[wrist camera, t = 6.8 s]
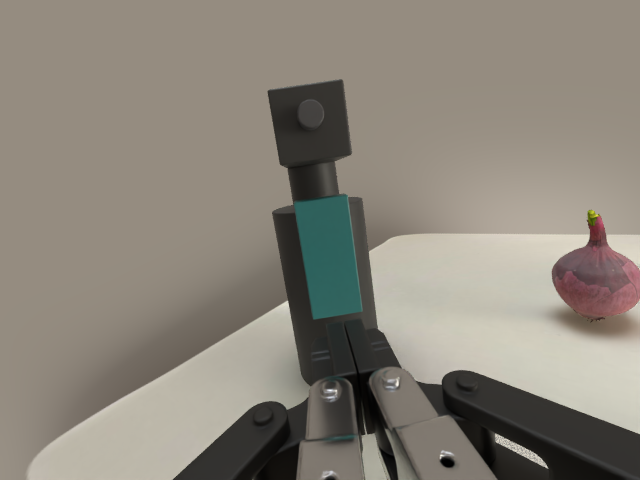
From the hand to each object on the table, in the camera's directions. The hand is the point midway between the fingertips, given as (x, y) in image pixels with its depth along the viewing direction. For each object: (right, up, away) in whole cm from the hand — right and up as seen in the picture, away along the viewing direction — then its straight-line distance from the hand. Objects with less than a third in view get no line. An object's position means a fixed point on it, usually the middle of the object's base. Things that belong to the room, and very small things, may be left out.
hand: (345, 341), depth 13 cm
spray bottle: (+1, -7, +11) cm, 13 cm away
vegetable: (+23, -3, +15) cm, 28 cm away
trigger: (0, 0, +6) cm, 6 cm away
